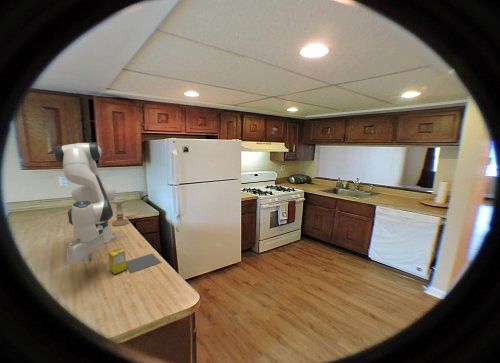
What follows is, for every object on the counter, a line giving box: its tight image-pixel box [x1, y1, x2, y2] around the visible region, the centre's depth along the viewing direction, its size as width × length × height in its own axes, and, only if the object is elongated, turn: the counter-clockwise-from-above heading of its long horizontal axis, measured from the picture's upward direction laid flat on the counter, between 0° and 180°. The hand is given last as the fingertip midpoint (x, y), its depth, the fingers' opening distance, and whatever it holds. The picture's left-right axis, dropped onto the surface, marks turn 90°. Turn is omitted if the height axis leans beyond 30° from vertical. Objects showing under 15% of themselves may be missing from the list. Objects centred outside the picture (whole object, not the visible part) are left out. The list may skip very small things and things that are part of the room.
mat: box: [126, 253, 162, 274], centre depth 126 cm, size 14×16×1 cm
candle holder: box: [110, 199, 129, 227], centre depth 187 cm, size 12×12×20 cm
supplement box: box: [108, 248, 127, 276], centre depth 117 cm, size 6×6×11 cm
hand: (88, 262), depth 108 cm, fingers closed
